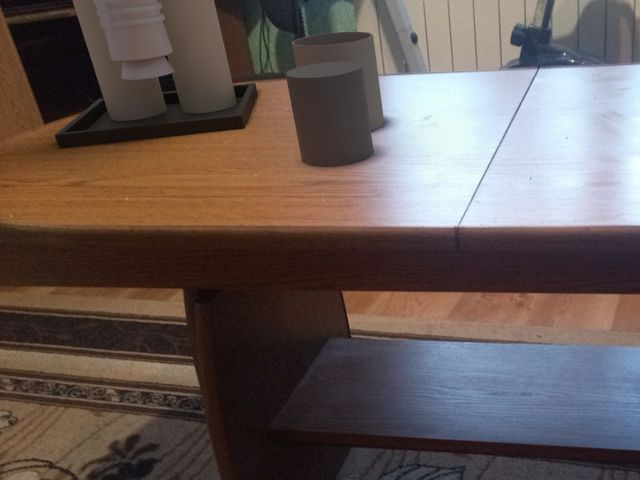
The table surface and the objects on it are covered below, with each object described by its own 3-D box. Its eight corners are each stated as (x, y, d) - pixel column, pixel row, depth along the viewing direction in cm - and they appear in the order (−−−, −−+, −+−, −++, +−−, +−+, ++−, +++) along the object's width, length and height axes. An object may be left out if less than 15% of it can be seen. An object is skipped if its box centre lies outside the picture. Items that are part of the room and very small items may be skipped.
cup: (324, 151, 77) (307, 49, 71) (299, 135, 83) (281, 40, 78) (397, 135, 80) (385, 36, 75) (367, 120, 86) (355, 29, 81)
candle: (103, 79, 84) (55, -72, 76) (152, 66, 89) (112, -76, 81) (142, 82, 81) (97, -75, 73) (191, 69, 86) (153, -79, 78)
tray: (60, 153, 83) (54, 135, 82) (103, 114, 99) (98, 98, 98) (245, 133, 85) (241, 115, 84) (258, 98, 101) (255, 82, 100)
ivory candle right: (177, 115, 92) (141, -17, 85) (186, 103, 98) (154, -21, 91) (233, 109, 93) (203, -22, 85) (239, 97, 99) (212, -26, 91)
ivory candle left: (103, 123, 92) (60, -10, 84) (117, 110, 97) (78, -15, 90) (161, 117, 92) (124, -15, 84) (171, 105, 98) (137, -20, 90)
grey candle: (302, 180, 69) (283, 80, 64) (304, 159, 75) (287, 66, 70) (377, 172, 69) (363, 72, 65) (373, 151, 75) (360, 58, 71)
